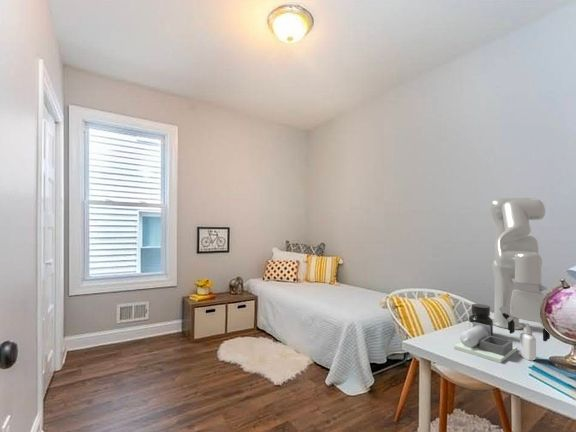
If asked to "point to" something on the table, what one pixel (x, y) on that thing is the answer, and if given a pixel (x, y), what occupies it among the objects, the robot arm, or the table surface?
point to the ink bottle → (481, 316)
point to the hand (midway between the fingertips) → (528, 336)
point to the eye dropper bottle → (528, 344)
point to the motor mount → (485, 343)
